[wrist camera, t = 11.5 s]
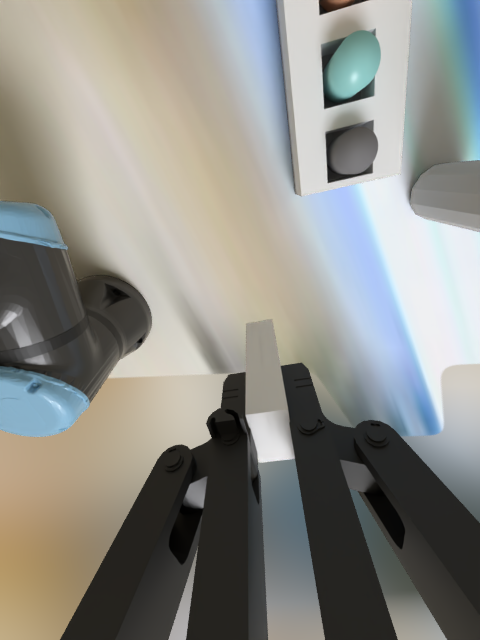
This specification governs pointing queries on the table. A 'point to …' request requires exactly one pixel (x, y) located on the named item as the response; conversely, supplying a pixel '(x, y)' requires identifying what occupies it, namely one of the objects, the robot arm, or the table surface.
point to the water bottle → (449, 194)
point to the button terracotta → (335, 4)
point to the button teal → (351, 66)
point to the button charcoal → (352, 151)
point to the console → (361, 109)
